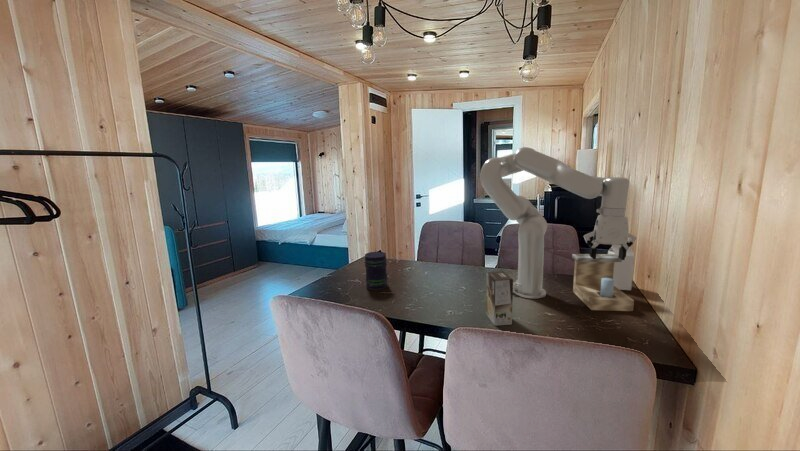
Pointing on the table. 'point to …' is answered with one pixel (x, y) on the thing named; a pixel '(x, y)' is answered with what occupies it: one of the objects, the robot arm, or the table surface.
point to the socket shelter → (598, 282)
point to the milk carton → (623, 268)
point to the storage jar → (376, 270)
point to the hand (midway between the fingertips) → (607, 258)
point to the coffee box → (499, 298)
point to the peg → (607, 287)
